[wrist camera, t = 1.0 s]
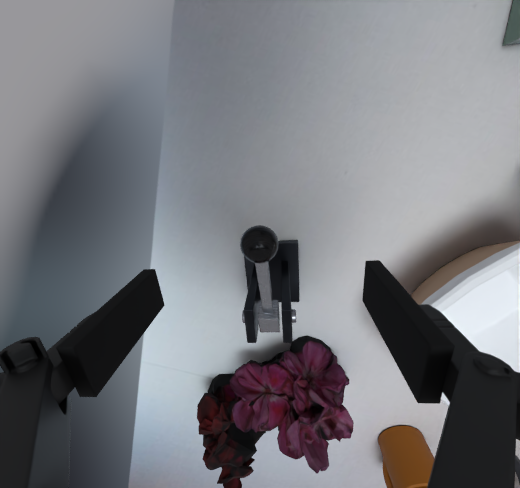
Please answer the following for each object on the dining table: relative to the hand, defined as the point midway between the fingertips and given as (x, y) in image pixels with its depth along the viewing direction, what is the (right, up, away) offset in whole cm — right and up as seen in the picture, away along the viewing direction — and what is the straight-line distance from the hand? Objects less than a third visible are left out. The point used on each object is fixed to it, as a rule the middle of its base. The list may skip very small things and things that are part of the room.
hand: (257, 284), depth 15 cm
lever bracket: (+2, -2, +23) cm, 23 cm away
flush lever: (+1, 0, +10) cm, 10 cm away
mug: (+28, -39, +35) cm, 59 cm away
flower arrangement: (+2, -24, +32) cm, 40 cm away
